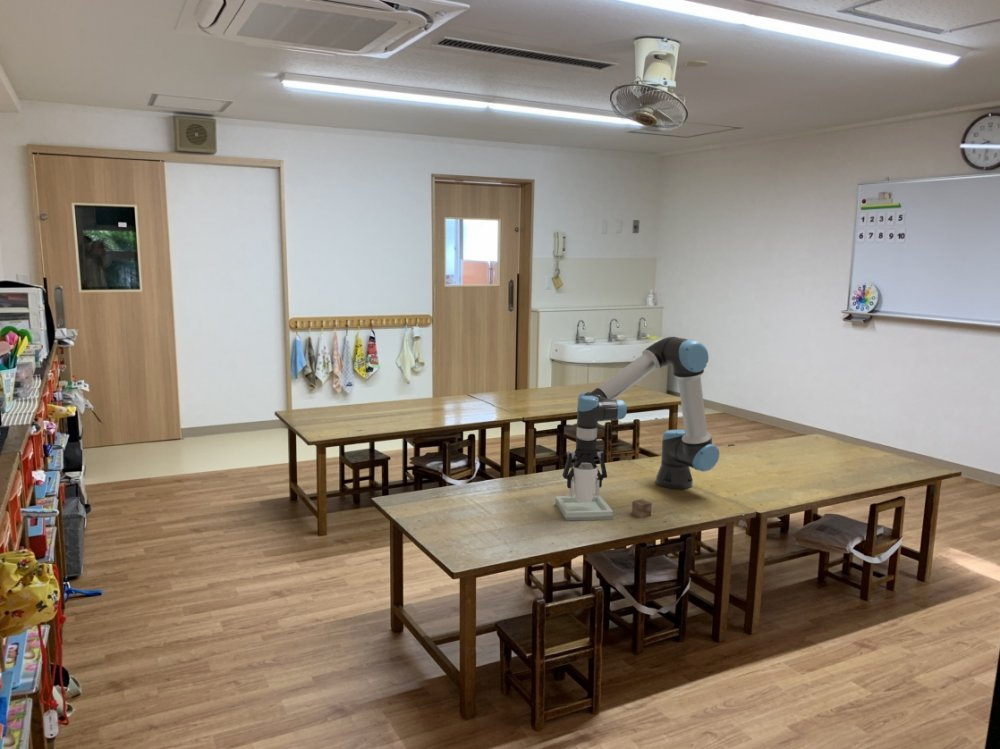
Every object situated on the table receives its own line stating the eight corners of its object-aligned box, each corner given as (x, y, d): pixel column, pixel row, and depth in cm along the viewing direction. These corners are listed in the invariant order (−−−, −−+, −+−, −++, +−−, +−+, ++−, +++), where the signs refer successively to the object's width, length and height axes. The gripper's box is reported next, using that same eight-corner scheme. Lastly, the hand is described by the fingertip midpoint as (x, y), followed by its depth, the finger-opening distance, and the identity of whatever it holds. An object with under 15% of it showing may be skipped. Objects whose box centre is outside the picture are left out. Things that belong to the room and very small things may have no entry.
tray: (599, 502, 289) (599, 495, 288) (612, 519, 272) (613, 511, 271) (555, 503, 286) (555, 496, 286) (565, 520, 269) (566, 512, 269)
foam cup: (596, 496, 282) (597, 463, 280) (596, 504, 273) (598, 470, 271) (571, 495, 283) (572, 462, 281) (571, 503, 274) (572, 469, 272)
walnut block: (642, 511, 281) (642, 498, 280) (650, 515, 276) (651, 503, 275) (631, 513, 278) (632, 500, 277) (640, 518, 274) (641, 505, 273)
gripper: (612, 434, 279) (609, 491, 283) (555, 435, 276) (553, 493, 280) (618, 440, 272) (615, 498, 276) (559, 441, 269) (557, 500, 273)
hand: (583, 495), depth 278 cm, fingers closed on foam cup, 9 cm apart
